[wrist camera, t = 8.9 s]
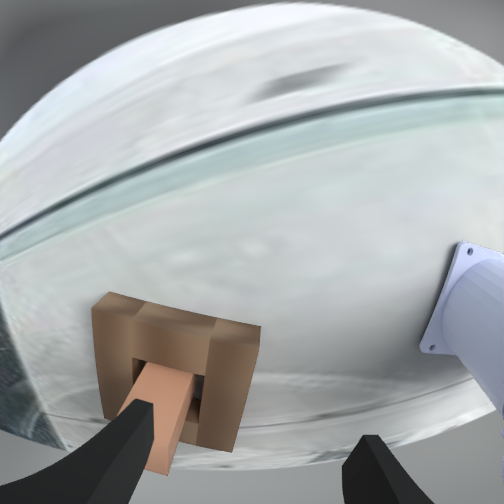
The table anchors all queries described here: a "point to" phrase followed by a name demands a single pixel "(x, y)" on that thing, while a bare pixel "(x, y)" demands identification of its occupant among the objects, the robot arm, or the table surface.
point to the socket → (176, 361)
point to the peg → (164, 409)
